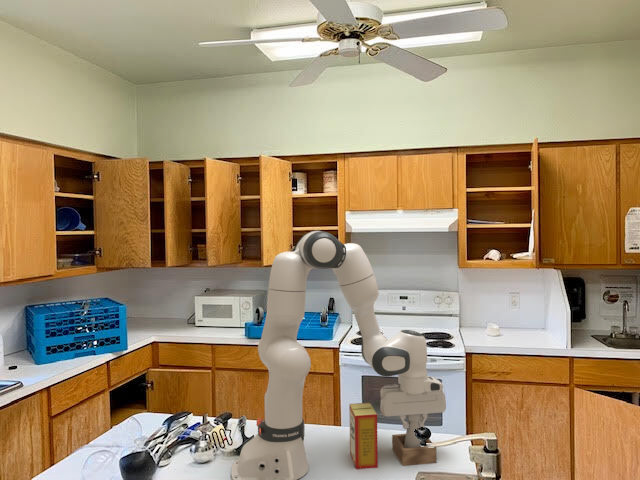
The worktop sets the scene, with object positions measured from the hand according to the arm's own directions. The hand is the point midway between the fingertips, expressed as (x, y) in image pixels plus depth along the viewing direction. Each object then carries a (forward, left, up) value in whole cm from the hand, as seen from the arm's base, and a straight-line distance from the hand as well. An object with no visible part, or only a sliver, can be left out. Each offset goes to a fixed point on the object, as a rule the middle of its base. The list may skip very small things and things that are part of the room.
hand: (413, 427), depth 137 cm
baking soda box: (-16, 0, -9) cm, 18 cm away
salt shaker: (0, 0, -8) cm, 8 cm away
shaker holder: (0, 0, -9) cm, 9 cm away
